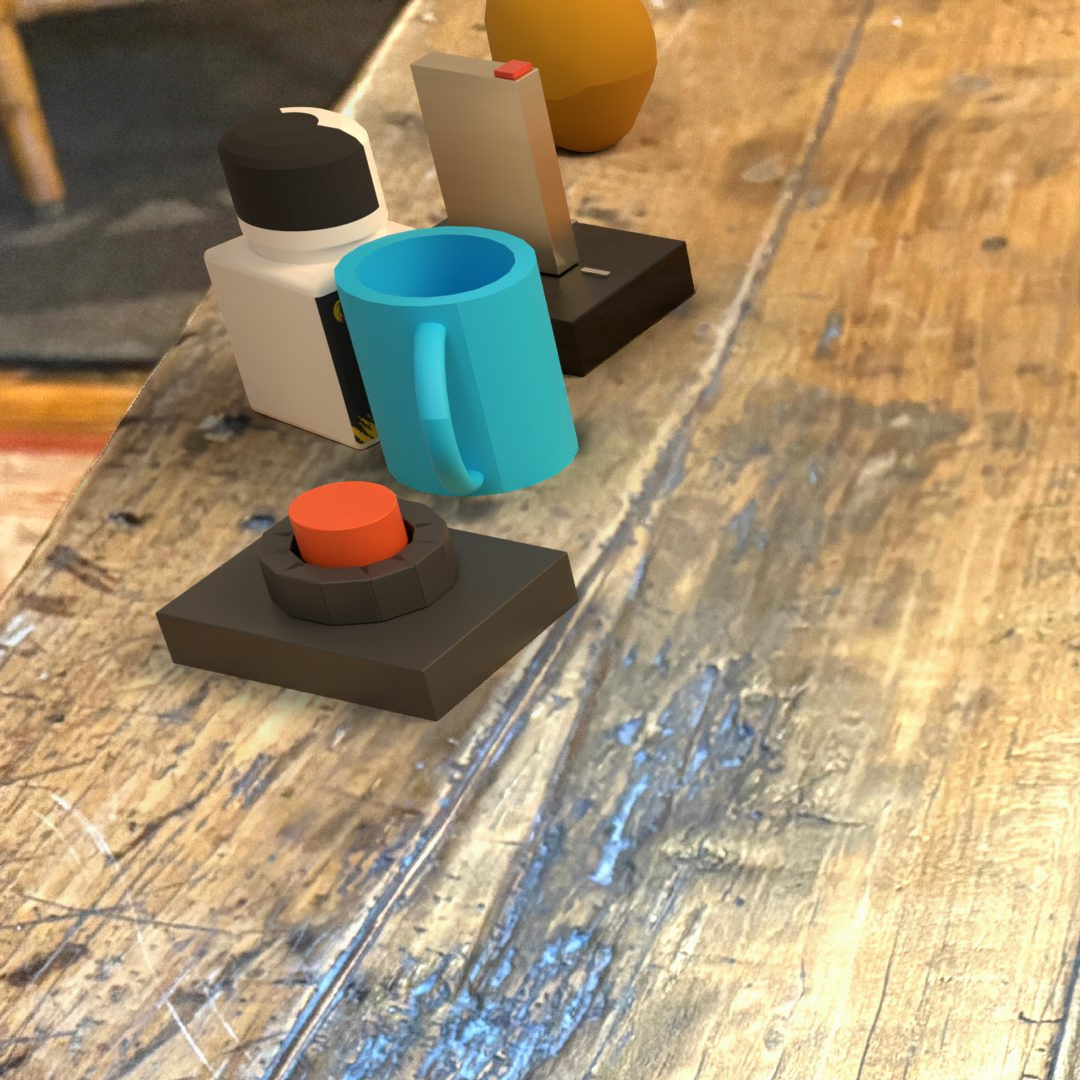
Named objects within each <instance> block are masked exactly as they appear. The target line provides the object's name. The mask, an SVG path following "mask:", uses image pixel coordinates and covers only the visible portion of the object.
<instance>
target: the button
mask: <svg viewBox="0 0 1080 1080" xmlns="http://www.w3.org/2000/svg"><path fill="white" fill-rule="evenodd" d="M287 514H288V515H289V518H290V522H291V525H292V528H293V531H294V534H295V538H296V541H297V544H298V547H299V550H300V553H301V556H302V558H303V560H304V561H305V562H306V563H308V564H312V565H317V566H322V567H326V568H342V567H356V566H365V565H368V564H371V563H375V562H378V561H381V560H384V559H387V558H390V557H393V556H394V555H395V554H397V553H398V552H399V551H401V550H402V549H403V548H404V547H406V546H407V545H408V537H407V534H406V530H405V526H404V523H403V519H402V516H401V512H400V509H399V505H398V502H397V496H396V494H395V492H393V491H392V490H391V488H390V489H389V488H388V487H386V486H384V485H383V484H379V483H375V482H369V481H361V480H360V481H357V480H356V481H355V480H350V481H348V480H347V481H338V482H332V483H327V484H324V485H320V486H316V487H314V488H311V489H309V490H307V491H305V492H303V493H302V494H300V495H298V496H297V497H296V498H294V499H293V501H292V502H291V503H290V504H289V506H288V510H287ZM288 515H287V516H288Z"/></svg>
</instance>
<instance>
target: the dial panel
mask: <svg viewBox="0 0 1080 1080" xmlns="http://www.w3.org/2000/svg"><path fill="white" fill-rule="evenodd" d="M570 219H571V224H572V229H573V233H574V238H575V243H576V247H577V252H578V257H579V262H577V263H576V264H574V265H573V266H571V267H570V268H569V269H567V270H566V271H564V272H563V273H561V274H560V275H554V274H549V273H543V272H539V273H540V277H541V282H542V286H543V290H544V295H545V299H546V304H547V308H548V313H549V317H550V321H551V326H552V330H553V335H554V339H555V344H556V348H557V352H558V357H559V361H560V366H561V370H562V373H564V374H570V375H575V376H581V377H585V376H586V375H587V374H589V373H590V372H592V371H593V370H594V369H595V368H597V367H598V366H599V365H601V364H602V363H604V362H605V361H606V360H608V359H609V358H610V357H611V356H613V355H614V354H615V353H617V352H618V351H619V350H621V349H622V348H623V347H625V346H626V345H627V344H629V343H631V341H633V340H634V339H636V338H637V337H638V336H640V335H641V334H642V333H644V332H645V331H647V330H648V329H649V328H650V327H652V326H653V325H655V323H657V322H659V320H661V319H662V318H664V317H665V316H666V315H668V314H669V313H670V312H671V311H673V310H674V309H676V308H677V307H678V306H680V305H681V304H683V303H684V302H685V301H687V300H688V299H689V298H690V297H691V296H693V295H695V292H696V290H695V285H694V284H695V283H694V278H693V273H692V268H691V263H690V258H689V252H688V247H687V242H686V241H685V240H682V239H677V238H669V237H663V236H659V235H653V234H647V233H646V234H645V233H641V232H640V233H639V232H636V231H629V230H624V229H617V228H613V227H608V226H607V227H606V226H600V225H595V224H590V223H584V222H579V220H578V219H575V218H570ZM444 226H450V225H449V221H448V217H446V218H444V219H443V220H441V221H440V222H438V223H437V224H435V225H433V226H431V228H433V227H444Z"/></svg>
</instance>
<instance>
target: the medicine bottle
mask: <svg viewBox="0 0 1080 1080" xmlns="http://www.w3.org/2000/svg"><path fill="white" fill-rule="evenodd" d="M216 150H217V154H218V158H219V161H220V165H221V168H222V171H223V174H224V178H225V181H226V184H227V189H228V191H229V195H230V198H231V201H232V205H233V208H234V211H235V214H236V217H237V221H238V224H239V229H240V231H241V233H242V235H239V236H237V237H234V238H232V239H229V240H227V241H225V242H222V243H219V244H217V245H215V246H213V247H210V248H208V249H206V250H205V251H204V253H203V260H204V264H205V266H206V269H207V273H208V276H209V279H210V283H211V286H212V289H213V292H214V295H215V298H216V301H217V305H218V308H219V311H220V314H221V317H222V320H223V321H222V322H223V324H224V328H225V330H226V334H227V336H228V341H229V344H230V346H231V349H232V353H233V356H234V359H235V362H236V366H237V368H238V371H239V375H240V378H241V381H242V384H243V387H244V391H245V394H246V397H247V402H248V404H249V406H250V408H251V409H252V410H253V411H254V412H256V413H257V414H261V415H263V416H267V417H269V418H272V419H275V420H277V421H280V422H283V423H286V424H288V425H291V426H294V427H295V428H296V427H297V428H298V429H300V430H304V431H307V432H309V433H312V434H315V435H318V436H321V437H324V438H326V439H328V440H331V441H335V442H336V443H339V444H343V445H345V446H347V447H350V448H353V449H356V450H359V451H360V450H366V449H367V448H370V447H371V446H373V445H375V444H378V443H380V440H379V436H378V433H377V429H376V426H375V422H374V418H373V415H372V411H371V408H370V404H369V401H368V397H367V394H366V390H365V387H364V383H363V379H362V376H361V372H360V369H359V365H358V362H357V358H356V355H355V351H354V348H353V344H352V340H351V337H350V333H349V330H348V326H347V323H346V319H345V316H344V312H343V309H342V305H341V301H340V298H339V294H338V291H337V287H336V284H335V275H334V268H335V267H336V266H337V264H338V263H339V262H340V260H341V259H342V258H343V256H345V255H346V254H348V253H349V252H351V251H353V250H354V249H356V248H357V247H359V246H360V245H362V244H365V243H368V242H370V241H373V240H376V239H378V238H381V237H384V236H387V235H391V234H396V233H400V232H405V231H409V230H414V229H415V227H411V226H409V225H405V224H402V223H398V222H396V221H392V220H389V219H388V218H389V210H388V207H387V203H386V200H385V196H384V192H383V188H382V185H381V181H380V177H379V172H378V169H377V164H376V161H375V158H374V154H373V150H372V146H371V143H370V138H369V134H368V132H367V130H366V129H365V128H364V127H363V126H362V125H361V124H359V122H357V121H356V120H354V119H353V118H352V117H350V116H348V115H345V114H342V113H339V112H335V111H333V110H329V109H324V108H320V107H319V108H318V107H310V106H309V107H308V106H290V107H281V108H280V107H279V108H273V109H268V110H265V111H260V112H257V113H254V114H252V115H249V116H247V117H245V118H243V119H241V120H240V121H238V122H236V123H235V124H233V125H231V126H230V127H229V128H227V129H226V130H225V131H224V132H223V134H222V135H221V137H220V139H219V141H218V144H217V146H216Z"/></svg>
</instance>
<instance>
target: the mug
mask: <svg viewBox="0 0 1080 1080" xmlns="http://www.w3.org/2000/svg"><path fill="white" fill-rule="evenodd" d="M432 227H433V226H432ZM432 227H423V228H414V230H409V231H405V232H400V233H396V234H391V235H387V236H384V237H381V238H378V239H376V240H373V241H370V242H368V243H365V244H362V245H360V246H359V247H357V248H356V249H354V250H353V251H351V252H349V253H348V254H346V255H345V256H343V258H342V259H341V260H340V262H339V263H338V264H337V266H336V267H335V268H334V275H335V284H336V287H337V291H338V294H339V298H340V301H341V305H342V309H343V312H344V316H345V319H346V323H347V326H348V330H349V333H350V337H351V340H352V344H353V348H354V351H355V355H356V358H357V362H358V365H359V369H360V372H361V376H362V379H363V383H364V387H365V390H366V394H367V397H368V401H369V404H370V408H371V411H372V415H373V418H374V422H375V426H376V429H377V433H378V436H379V440H380V442H379V444H380V446H381V450H382V454H383V457H384V461H385V464H386V468H387V471H388V473H390V474H391V475H392V477H393V478H394V479H395V480H396V481H397V482H398V483H400V484H402V485H404V486H407V487H408V488H411V489H413V490H414V491H417V492H422V493H426V494H431V495H432V494H433V495H435V496H436V495H437V496H443V497H467V498H469V497H470V498H474V497H483V496H492V495H501V494H506V493H510V492H514V491H519V490H522V489H525V488H530V487H533V486H535V485H537V484H540V483H541V482H544V481H546V480H549V479H551V478H553V477H556V476H557V475H558V474H559V473H561V472H562V471H563V470H564V469H566V468H567V467H568V466H569V465H571V464H572V463H573V461H574V459H575V457H576V455H577V453H578V451H579V450H580V449H579V447H580V446H579V442H578V437H577V433H576V429H575V424H574V423H575V422H574V419H573V415H572V411H571V406H570V401H569V396H568V393H567V389H566V383H565V379H564V375H563V372H562V370H561V366H560V361H559V357H558V352H557V348H556V344H555V339H554V335H553V330H552V326H551V321H550V317H549V313H548V308H547V304H546V299H545V295H544V290H543V286H542V282H541V277H540V273H539V268H538V264H537V259H536V255H535V251H534V249H533V248H532V247H531V246H530V245H528V244H527V243H526V242H525V241H524V240H523V239H521V238H518V237H515V236H513V235H510V234H508V233H505V232H503V231H497V230H491V229H485V228H479V227H457V226H444V227H433V228H432Z"/></svg>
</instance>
